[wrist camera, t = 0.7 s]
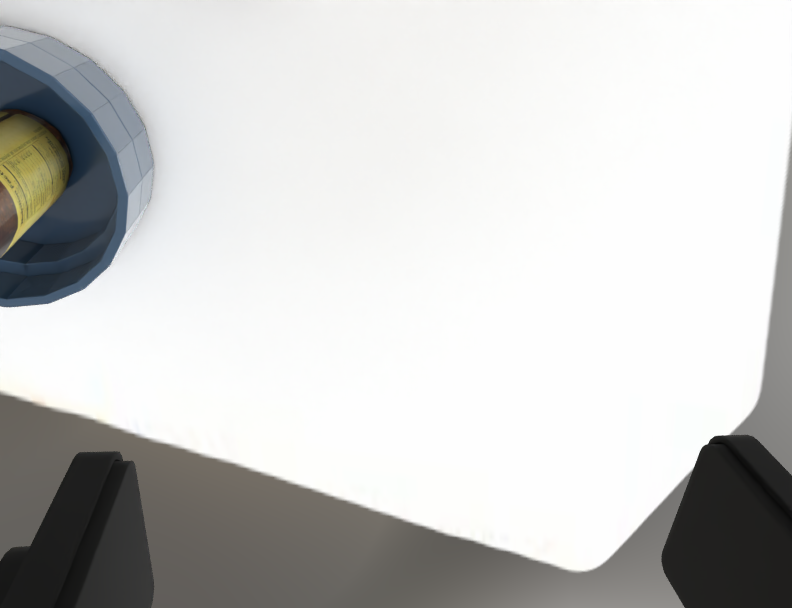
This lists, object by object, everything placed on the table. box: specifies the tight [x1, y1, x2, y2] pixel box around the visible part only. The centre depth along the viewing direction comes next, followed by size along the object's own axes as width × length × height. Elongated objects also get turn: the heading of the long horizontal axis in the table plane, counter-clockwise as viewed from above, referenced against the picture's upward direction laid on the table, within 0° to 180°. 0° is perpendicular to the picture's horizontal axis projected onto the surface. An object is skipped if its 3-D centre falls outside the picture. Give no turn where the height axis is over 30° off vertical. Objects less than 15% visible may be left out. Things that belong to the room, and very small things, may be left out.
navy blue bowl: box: [0, 26, 154, 307], centre depth 37 cm, size 15×15×7 cm
